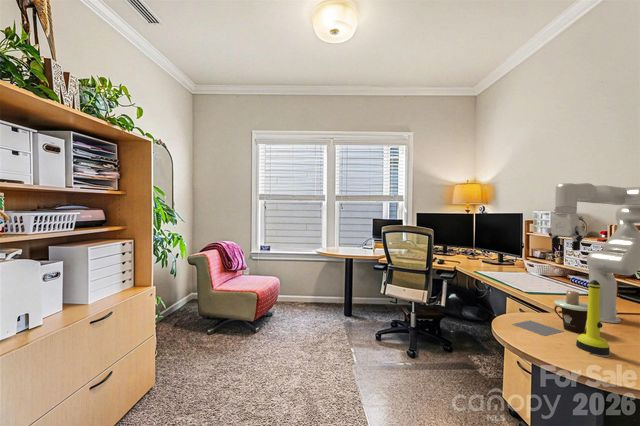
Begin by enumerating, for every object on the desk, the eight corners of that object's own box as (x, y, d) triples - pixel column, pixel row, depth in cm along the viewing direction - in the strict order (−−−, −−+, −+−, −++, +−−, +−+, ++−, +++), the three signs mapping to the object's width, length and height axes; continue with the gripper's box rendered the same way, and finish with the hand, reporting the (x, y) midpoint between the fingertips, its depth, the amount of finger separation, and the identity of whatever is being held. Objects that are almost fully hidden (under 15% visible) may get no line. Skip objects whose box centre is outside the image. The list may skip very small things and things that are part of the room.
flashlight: (572, 278, 107) (604, 283, 99) (586, 276, 111) (617, 282, 103) (570, 347, 108) (601, 358, 99) (584, 343, 111) (615, 354, 103)
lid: (563, 300, 132) (564, 287, 132) (598, 309, 121) (598, 294, 121) (547, 303, 127) (548, 289, 127) (581, 312, 116) (582, 297, 116)
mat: (530, 321, 133) (530, 320, 133) (563, 332, 121) (563, 331, 121) (511, 325, 127) (511, 324, 127) (544, 337, 116) (544, 336, 116)
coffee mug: (593, 337, 117) (594, 311, 117) (568, 334, 119) (569, 309, 119) (574, 326, 129) (575, 303, 129) (551, 324, 131) (552, 301, 130)
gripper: (541, 210, 142) (541, 246, 142) (578, 211, 125) (577, 251, 125) (555, 211, 143) (554, 246, 143) (593, 211, 126) (592, 251, 126)
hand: (565, 248), depth 134 cm, fingers open, 9 cm apart
